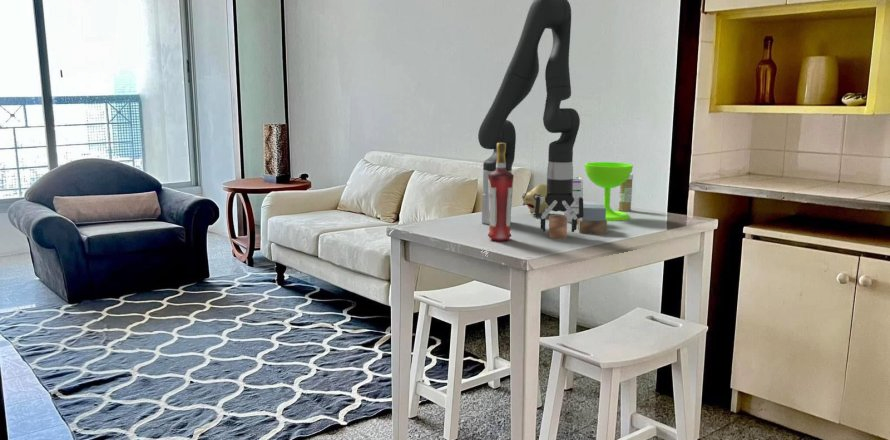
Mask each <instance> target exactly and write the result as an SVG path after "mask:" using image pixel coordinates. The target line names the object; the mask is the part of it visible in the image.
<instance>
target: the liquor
mask: <svg viewBox="0 0 890 440" xmlns="http://www.w3.org/2000/svg"><path fill="white" fill-rule="evenodd" d="M505 151H506V143H497V162H496V170H495V171H493V172H491V173H490V174H489V175H488V195H489V224H488V226H489V228H488V229H489V232H488V234H487V236H488V237H489V238H490V239H491V241H493V240H494V241H493V242H506V241H508V240H509V239H510V238H511V237H512V234H511V222H510V220H512V219H511V218H512V216H511V215H512V203H513V189H514V176H515V175H514V174H513V172H512V173H510V172H508V171H506V162H505Z"/></svg>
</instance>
